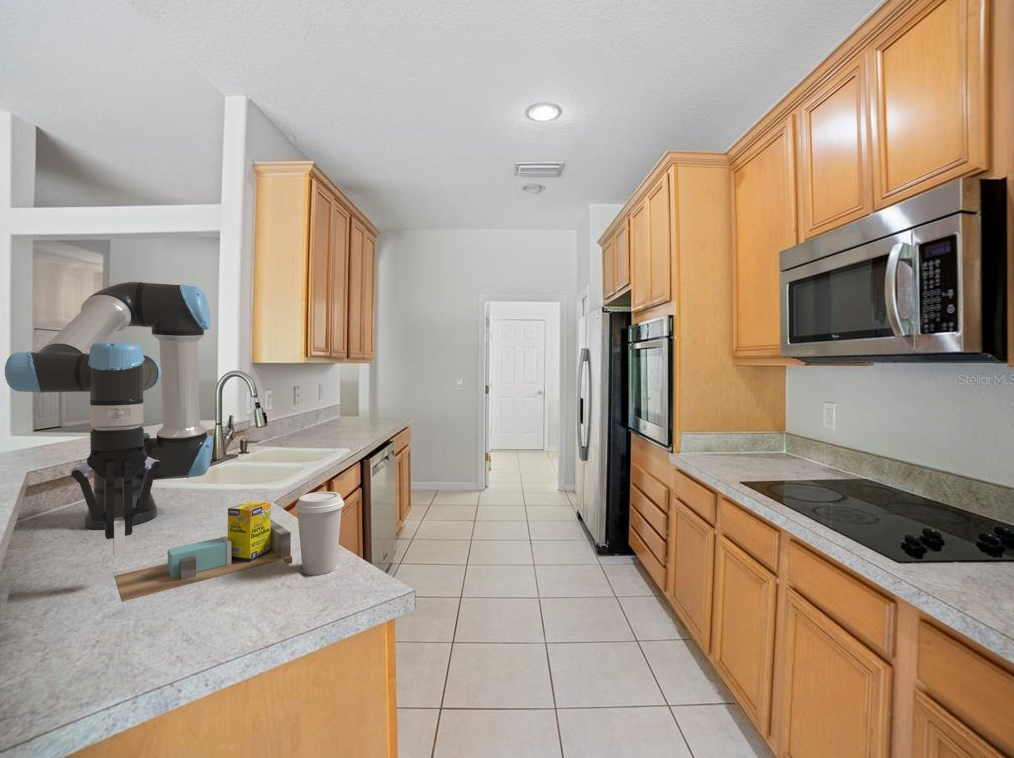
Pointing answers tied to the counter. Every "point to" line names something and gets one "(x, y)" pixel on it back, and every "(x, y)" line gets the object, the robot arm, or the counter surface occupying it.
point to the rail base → (161, 580)
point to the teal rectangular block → (201, 555)
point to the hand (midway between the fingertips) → (119, 553)
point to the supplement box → (249, 530)
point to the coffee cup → (319, 530)
